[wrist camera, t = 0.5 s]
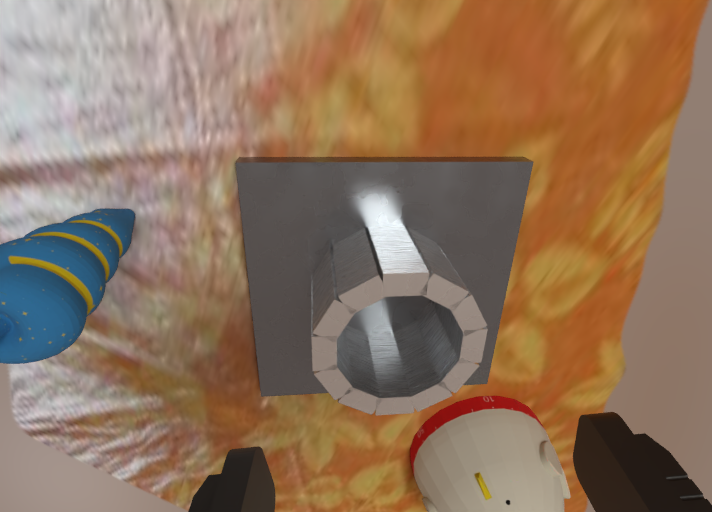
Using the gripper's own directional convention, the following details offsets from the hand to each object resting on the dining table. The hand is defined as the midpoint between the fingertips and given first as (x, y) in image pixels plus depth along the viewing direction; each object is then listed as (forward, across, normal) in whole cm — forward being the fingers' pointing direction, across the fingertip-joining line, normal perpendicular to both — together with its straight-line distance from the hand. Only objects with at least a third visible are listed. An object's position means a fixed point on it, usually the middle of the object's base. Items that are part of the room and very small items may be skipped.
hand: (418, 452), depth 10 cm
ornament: (+20, +17, -1) cm, 26 cm away
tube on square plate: (+21, 0, +8) cm, 23 cm away
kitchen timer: (+22, -8, +29) cm, 37 cm away
